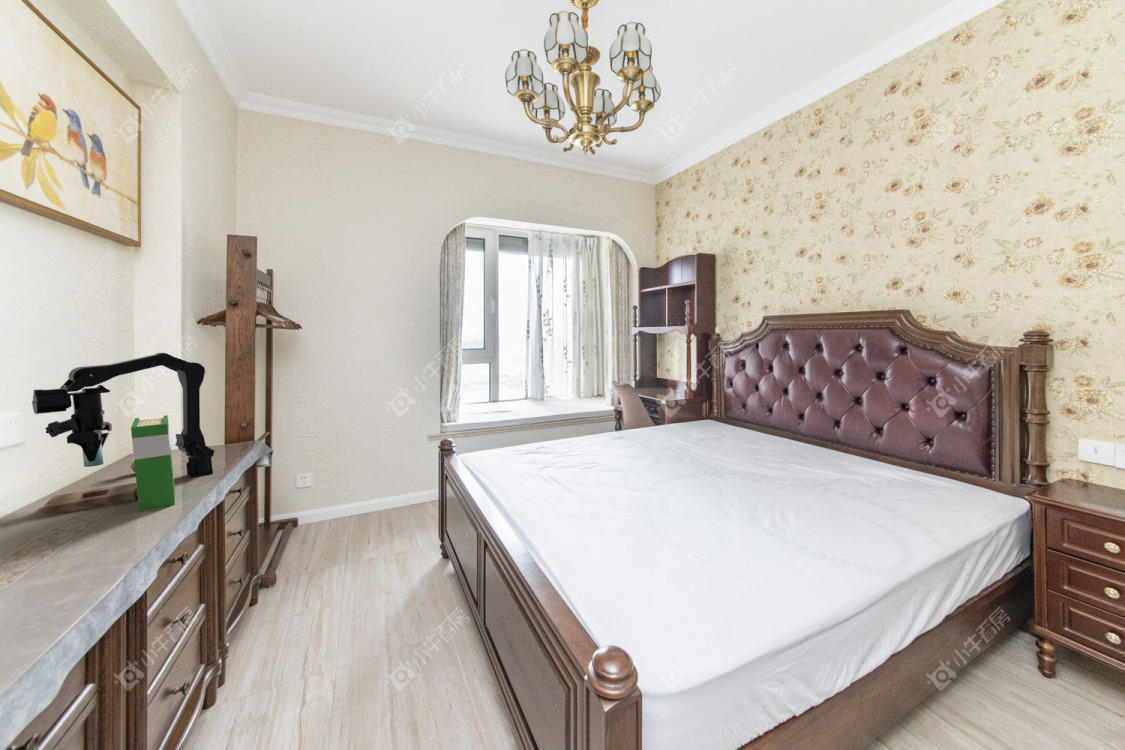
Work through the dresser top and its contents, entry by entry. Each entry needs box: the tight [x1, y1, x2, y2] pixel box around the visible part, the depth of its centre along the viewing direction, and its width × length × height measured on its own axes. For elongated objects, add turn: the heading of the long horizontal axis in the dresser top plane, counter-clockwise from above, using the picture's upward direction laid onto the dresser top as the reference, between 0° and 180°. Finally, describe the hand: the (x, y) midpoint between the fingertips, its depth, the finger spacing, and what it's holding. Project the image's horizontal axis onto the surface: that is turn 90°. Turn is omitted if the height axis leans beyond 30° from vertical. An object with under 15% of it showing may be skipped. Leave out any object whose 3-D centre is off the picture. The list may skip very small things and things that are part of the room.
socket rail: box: [41, 482, 138, 517], centre depth 128 cm, size 18×11×2 cm, turn 129°
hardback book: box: [130, 414, 176, 513], centre depth 129 cm, size 18×7×24 cm, turn 42°
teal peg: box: [81, 444, 104, 468], centre depth 131 cm, size 4×4×6 cm
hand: (93, 459), depth 131 cm, fingers closed on teal peg, 4 cm apart
